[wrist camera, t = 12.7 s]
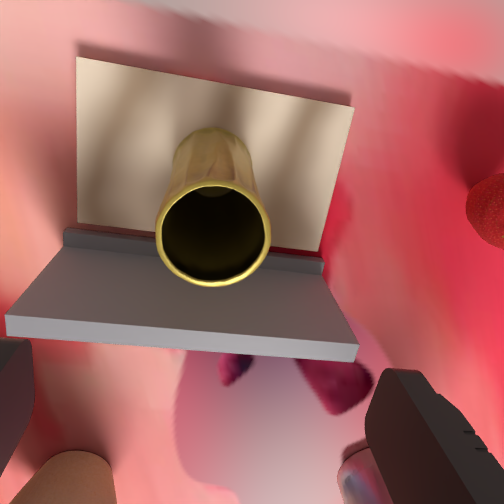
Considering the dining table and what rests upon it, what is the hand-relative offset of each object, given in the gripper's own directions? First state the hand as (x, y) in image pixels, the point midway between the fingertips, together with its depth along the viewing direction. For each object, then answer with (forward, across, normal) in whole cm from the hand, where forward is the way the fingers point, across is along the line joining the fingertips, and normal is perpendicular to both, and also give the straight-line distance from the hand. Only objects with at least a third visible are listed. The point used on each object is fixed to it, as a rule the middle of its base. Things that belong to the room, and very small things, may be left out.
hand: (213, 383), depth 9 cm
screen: (+24, 0, +9) cm, 26 cm away
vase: (+24, 0, 0) cm, 24 cm away
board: (+24, 0, 0) cm, 25 cm away
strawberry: (+25, -23, -1) cm, 34 cm away
